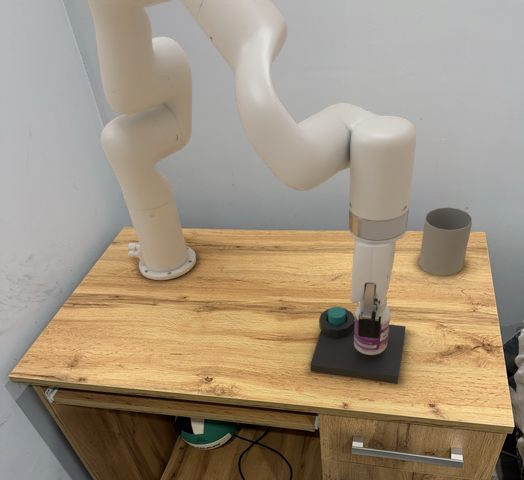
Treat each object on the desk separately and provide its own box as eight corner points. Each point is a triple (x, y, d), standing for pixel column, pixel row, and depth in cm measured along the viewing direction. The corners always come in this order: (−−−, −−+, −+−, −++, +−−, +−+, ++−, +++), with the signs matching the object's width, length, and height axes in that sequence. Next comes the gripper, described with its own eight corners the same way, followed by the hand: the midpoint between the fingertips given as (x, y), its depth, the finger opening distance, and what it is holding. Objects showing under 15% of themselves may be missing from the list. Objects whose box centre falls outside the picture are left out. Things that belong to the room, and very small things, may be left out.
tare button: (326, 324, 86) (326, 316, 84) (329, 313, 88) (329, 305, 86) (343, 326, 85) (344, 318, 84) (347, 315, 87) (347, 307, 86)
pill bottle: (386, 357, 79) (391, 310, 72) (352, 355, 80) (354, 308, 73) (387, 334, 83) (392, 287, 76) (355, 332, 84) (356, 286, 77)
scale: (308, 371, 82) (307, 356, 80) (323, 320, 91) (323, 305, 89) (397, 383, 78) (399, 368, 76) (405, 329, 87) (407, 314, 85)
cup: (450, 280, 96) (459, 235, 89) (411, 267, 100) (417, 223, 93) (470, 259, 100) (479, 214, 93) (431, 247, 104) (438, 203, 97)
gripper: (359, 187, 72) (356, 288, 85) (337, 253, 61) (337, 358, 73) (412, 189, 70) (401, 292, 83) (400, 258, 59) (389, 365, 71)
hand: (371, 322), depth 78 cm, fingers closed on pill bottle, 5 cm apart
